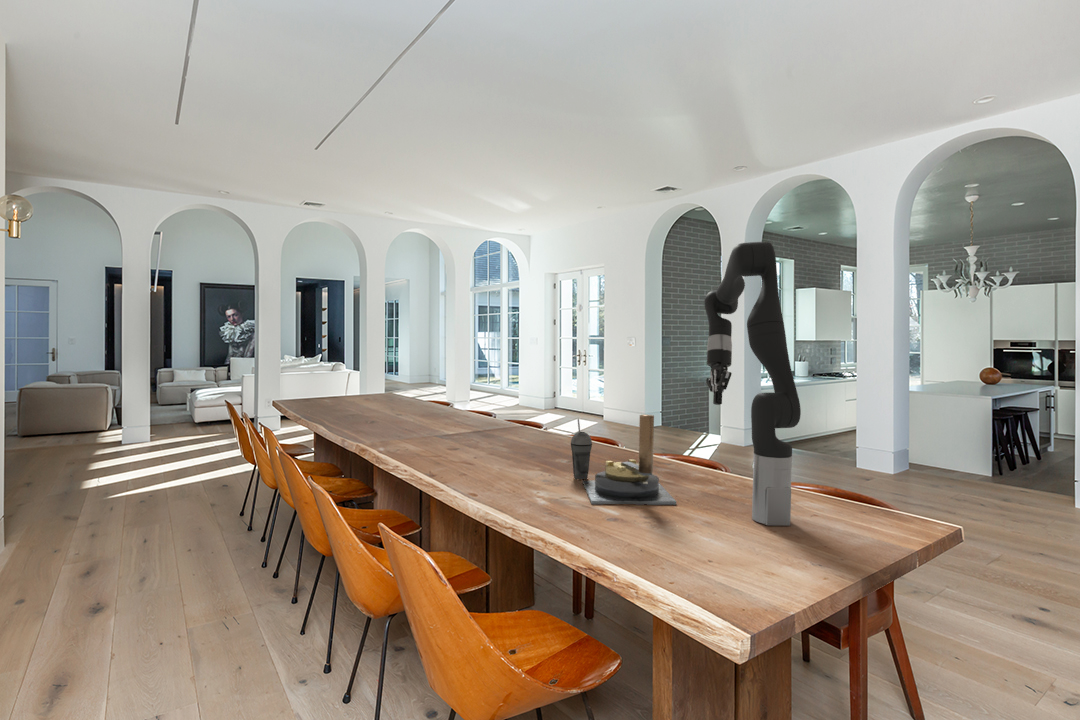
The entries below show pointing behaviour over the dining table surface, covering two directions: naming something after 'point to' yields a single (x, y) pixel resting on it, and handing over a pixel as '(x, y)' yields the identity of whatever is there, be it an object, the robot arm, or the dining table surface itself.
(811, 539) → the dining table surface
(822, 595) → the dining table surface
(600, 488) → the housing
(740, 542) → the dining table surface
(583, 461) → the beverage cup
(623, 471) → the brass crank handle
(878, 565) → the dining table surface
